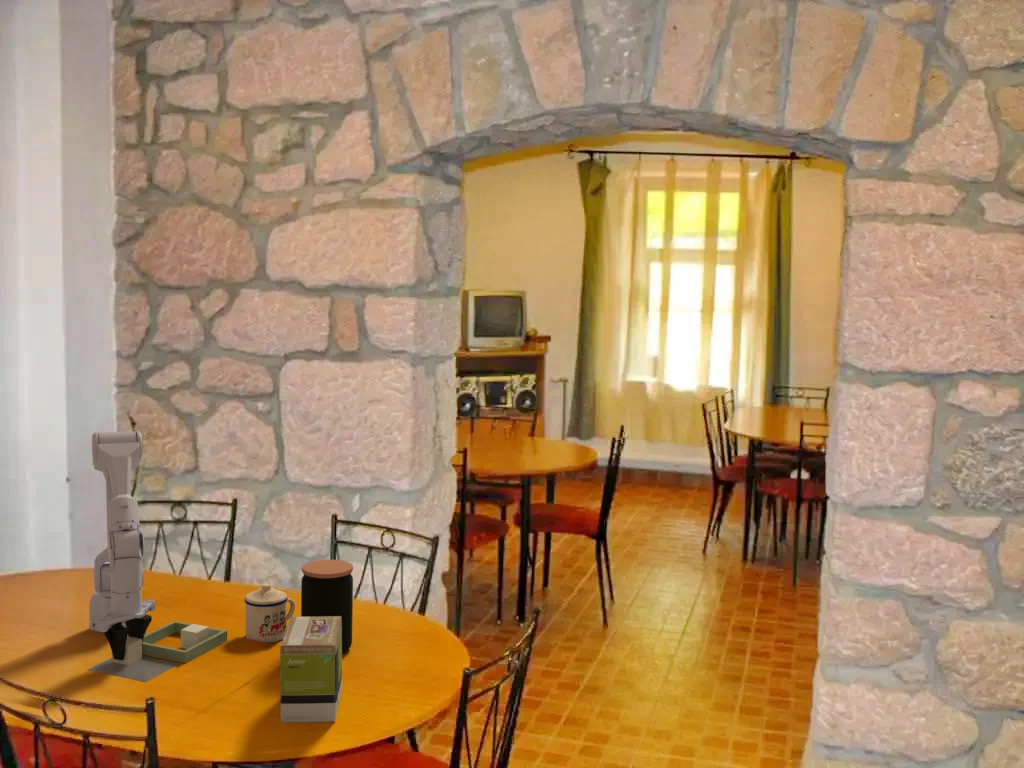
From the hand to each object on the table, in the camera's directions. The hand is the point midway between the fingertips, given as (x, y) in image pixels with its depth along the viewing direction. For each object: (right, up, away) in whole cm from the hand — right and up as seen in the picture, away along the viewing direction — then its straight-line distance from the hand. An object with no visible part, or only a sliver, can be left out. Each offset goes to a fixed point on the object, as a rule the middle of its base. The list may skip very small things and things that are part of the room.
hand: (127, 655), depth 205 cm
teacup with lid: (+25, -1, +19) cm, 31 cm away
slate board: (+2, -2, -3) cm, 4 cm away
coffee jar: (+38, -2, +12) cm, 40 cm away
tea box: (+40, -5, -16) cm, 44 cm away
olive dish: (+8, -1, +8) cm, 12 cm away
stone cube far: (+11, -1, +9) cm, 14 cm away
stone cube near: (0, -1, 0) cm, 1 cm away
